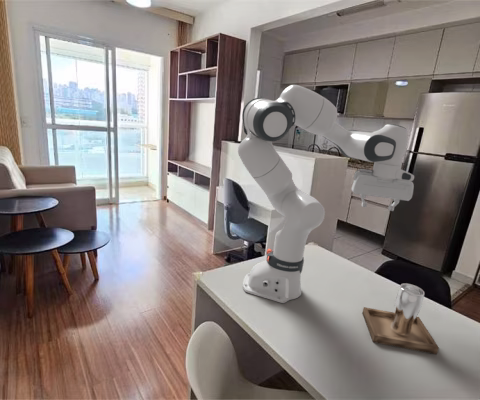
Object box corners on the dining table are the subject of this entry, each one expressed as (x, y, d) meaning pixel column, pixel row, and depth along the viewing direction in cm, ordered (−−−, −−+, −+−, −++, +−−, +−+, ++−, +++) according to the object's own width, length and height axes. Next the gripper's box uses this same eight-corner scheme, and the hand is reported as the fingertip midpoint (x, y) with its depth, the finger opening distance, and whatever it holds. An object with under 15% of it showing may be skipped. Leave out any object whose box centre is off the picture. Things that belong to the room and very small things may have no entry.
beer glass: (415, 340, 90) (429, 298, 86) (391, 334, 91) (403, 293, 87) (408, 325, 96) (420, 285, 92) (386, 320, 98) (396, 281, 93)
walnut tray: (372, 342, 88) (374, 335, 88) (362, 313, 102) (363, 307, 101) (436, 354, 86) (438, 347, 85) (416, 323, 99) (418, 317, 99)
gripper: (357, 169, 102) (349, 206, 106) (419, 176, 100) (409, 215, 103) (353, 166, 108) (346, 202, 112) (412, 173, 106) (402, 209, 109)
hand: (377, 208), depth 108 cm, fingers open, 8 cm apart
